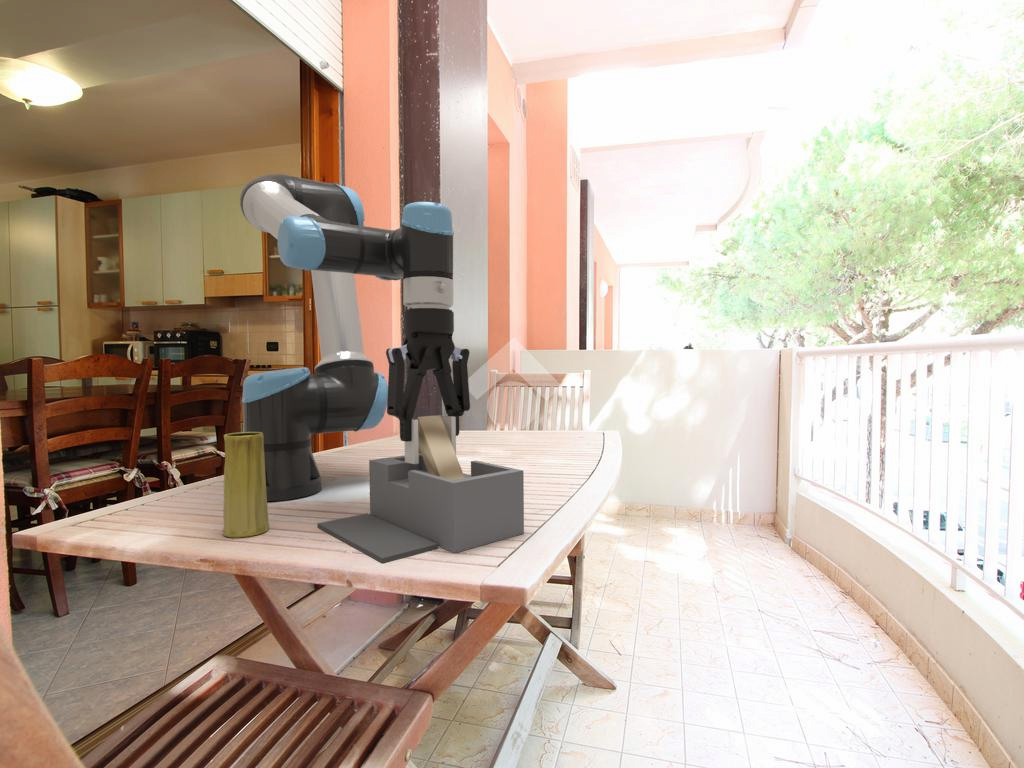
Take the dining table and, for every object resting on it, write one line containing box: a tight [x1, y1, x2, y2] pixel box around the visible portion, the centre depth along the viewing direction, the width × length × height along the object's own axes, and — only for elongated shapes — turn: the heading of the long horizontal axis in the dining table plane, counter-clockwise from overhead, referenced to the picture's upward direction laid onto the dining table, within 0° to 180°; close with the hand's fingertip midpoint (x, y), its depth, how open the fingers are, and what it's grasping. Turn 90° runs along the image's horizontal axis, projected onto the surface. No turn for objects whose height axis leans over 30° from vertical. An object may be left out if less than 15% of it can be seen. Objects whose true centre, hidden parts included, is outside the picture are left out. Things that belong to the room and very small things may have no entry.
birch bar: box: [415, 414, 465, 480], centre depth 83 cm, size 18×4×2 cm
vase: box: [222, 431, 270, 539], centre depth 81 cm, size 6×6×14 cm
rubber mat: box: [317, 512, 439, 564], centre depth 78 cm, size 20×8×1 cm, turn 41°
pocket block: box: [368, 453, 525, 554], centre depth 83 cm, size 23×12×9 cm, turn 41°
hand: (430, 459), depth 85 cm, fingers open, 6 cm apart
